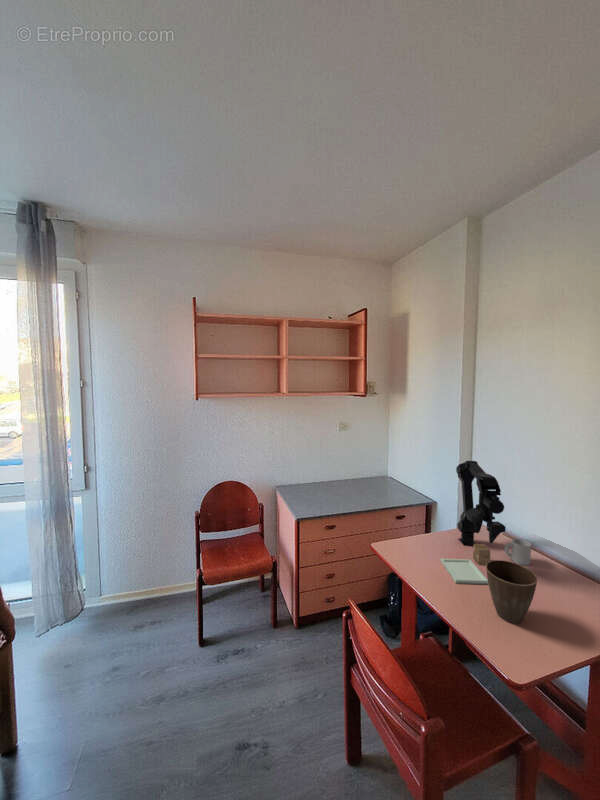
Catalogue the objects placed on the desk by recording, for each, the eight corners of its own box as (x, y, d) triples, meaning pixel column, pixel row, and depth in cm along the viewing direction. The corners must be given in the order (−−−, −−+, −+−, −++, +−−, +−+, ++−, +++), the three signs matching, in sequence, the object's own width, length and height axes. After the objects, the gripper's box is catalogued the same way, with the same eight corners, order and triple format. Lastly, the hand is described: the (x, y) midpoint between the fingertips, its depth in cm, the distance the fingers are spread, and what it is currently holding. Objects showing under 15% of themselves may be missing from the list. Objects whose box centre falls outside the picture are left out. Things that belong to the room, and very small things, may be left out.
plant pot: (524, 639, 103) (527, 590, 102) (476, 612, 115) (478, 568, 114) (542, 619, 112) (544, 574, 111) (495, 596, 124) (497, 555, 123)
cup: (532, 567, 144) (533, 547, 144) (506, 562, 148) (506, 543, 147) (527, 559, 151) (528, 540, 150) (502, 554, 154) (503, 536, 154)
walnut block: (473, 558, 151) (473, 544, 150) (484, 559, 150) (484, 544, 150) (478, 564, 146) (478, 549, 145) (489, 565, 145) (490, 550, 145)
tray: (440, 561, 148) (440, 558, 148) (469, 562, 147) (470, 559, 147) (455, 583, 132) (456, 579, 132) (488, 584, 131) (488, 580, 131)
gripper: (456, 496, 154) (455, 528, 155) (482, 513, 135) (480, 549, 136) (479, 496, 155) (477, 527, 156) (507, 512, 136) (505, 548, 137)
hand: (484, 537), depth 146 cm, fingers open, 9 cm apart
